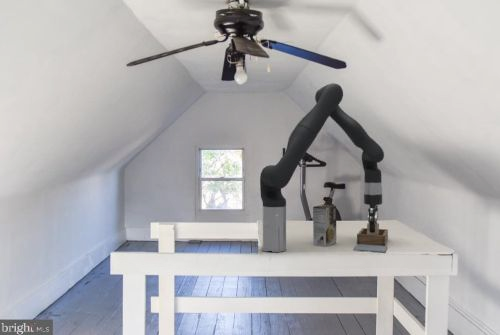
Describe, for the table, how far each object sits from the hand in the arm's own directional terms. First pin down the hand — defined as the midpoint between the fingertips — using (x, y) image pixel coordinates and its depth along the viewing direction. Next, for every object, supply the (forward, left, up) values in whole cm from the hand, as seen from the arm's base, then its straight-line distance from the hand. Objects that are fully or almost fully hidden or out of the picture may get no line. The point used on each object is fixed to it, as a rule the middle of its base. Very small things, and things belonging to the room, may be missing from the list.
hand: (373, 230), depth 185 cm
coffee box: (-11, +19, -5) cm, 22 cm away
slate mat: (-15, 0, -5) cm, 16 cm away
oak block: (0, 0, -5) cm, 5 cm away
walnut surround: (0, 0, -5) cm, 5 cm away
